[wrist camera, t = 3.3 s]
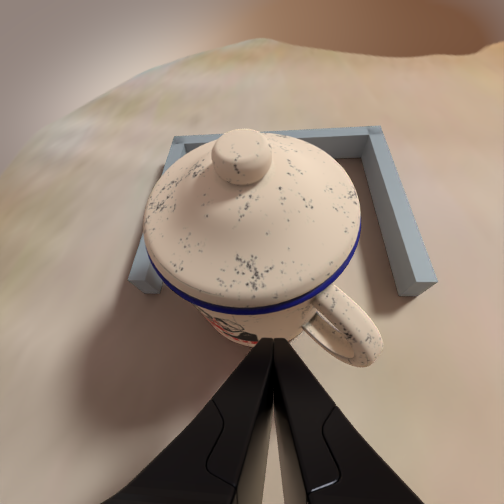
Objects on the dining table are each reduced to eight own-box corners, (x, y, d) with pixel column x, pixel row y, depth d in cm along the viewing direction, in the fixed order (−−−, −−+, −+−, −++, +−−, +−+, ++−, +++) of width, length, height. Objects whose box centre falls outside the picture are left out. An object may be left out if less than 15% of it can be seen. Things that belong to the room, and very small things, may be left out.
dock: (417, 296, 16) (437, 281, 14) (144, 293, 18) (127, 280, 16) (371, 148, 24) (380, 125, 22) (182, 157, 26) (174, 136, 24)
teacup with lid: (175, 282, 18) (55, 148, 8) (264, 215, 21) (254, 51, 11) (288, 432, 13) (329, 545, 3) (389, 320, 16) (586, 189, 6)
